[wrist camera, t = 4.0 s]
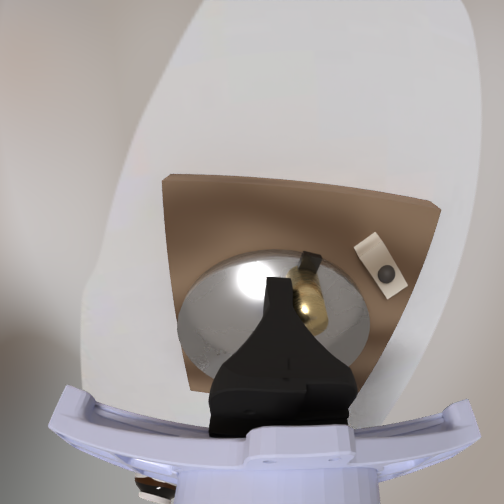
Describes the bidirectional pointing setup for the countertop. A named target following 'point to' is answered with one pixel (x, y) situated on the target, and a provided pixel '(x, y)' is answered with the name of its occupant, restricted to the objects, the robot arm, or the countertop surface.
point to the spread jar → (155, 489)
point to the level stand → (300, 241)
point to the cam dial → (252, 301)
